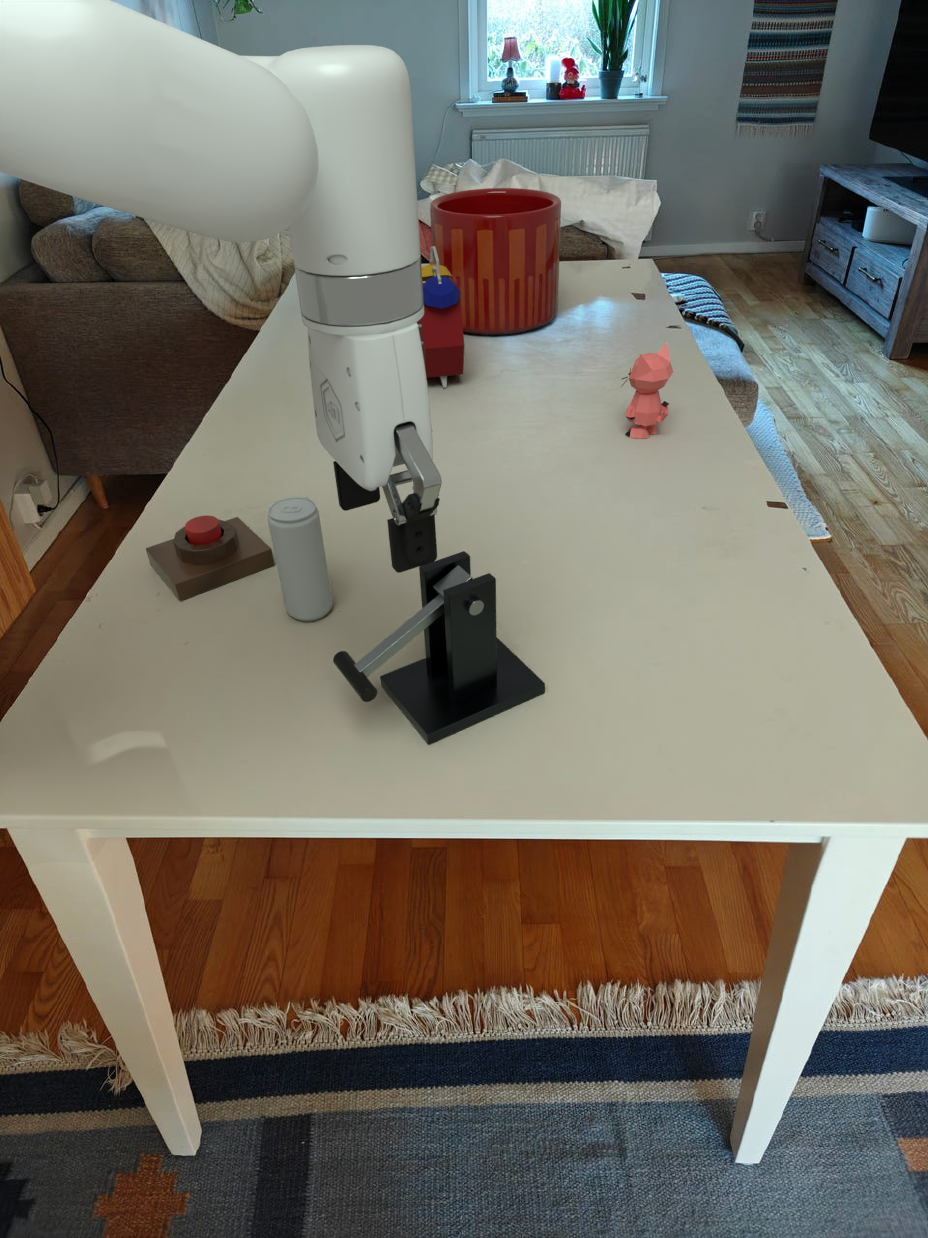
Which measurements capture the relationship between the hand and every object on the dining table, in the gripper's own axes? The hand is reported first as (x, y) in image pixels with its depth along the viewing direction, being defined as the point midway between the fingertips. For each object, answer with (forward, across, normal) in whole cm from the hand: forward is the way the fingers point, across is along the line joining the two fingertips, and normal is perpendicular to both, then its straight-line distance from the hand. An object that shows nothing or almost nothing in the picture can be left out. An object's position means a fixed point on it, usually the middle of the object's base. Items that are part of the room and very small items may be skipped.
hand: (386, 533), depth 62 cm
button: (+16, -34, -8) cm, 38 cm away
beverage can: (+20, -20, -1) cm, 28 cm away
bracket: (+19, -2, +6) cm, 20 cm away
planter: (+20, -91, +61) cm, 111 cm away
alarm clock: (+20, -71, +38) cm, 82 cm away
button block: (+19, -34, -8) cm, 40 cm away
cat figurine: (+20, -36, +54) cm, 68 cm away
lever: (+12, -1, +2) cm, 12 cm away
